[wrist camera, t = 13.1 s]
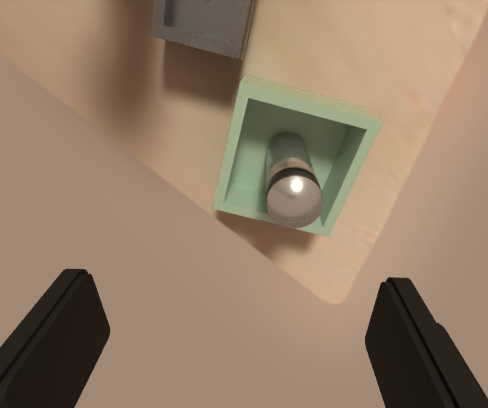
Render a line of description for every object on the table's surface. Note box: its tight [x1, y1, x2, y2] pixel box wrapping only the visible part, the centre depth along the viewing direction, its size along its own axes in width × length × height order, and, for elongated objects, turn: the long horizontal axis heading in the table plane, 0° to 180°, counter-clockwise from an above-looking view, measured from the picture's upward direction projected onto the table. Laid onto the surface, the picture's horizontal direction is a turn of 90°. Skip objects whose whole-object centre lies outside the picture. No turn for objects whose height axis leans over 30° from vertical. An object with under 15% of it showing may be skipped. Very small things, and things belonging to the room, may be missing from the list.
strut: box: [266, 132, 324, 228], centre depth 29 cm, size 4×4×12 cm
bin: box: [212, 75, 383, 237], centre depth 32 cm, size 13×13×6 cm
